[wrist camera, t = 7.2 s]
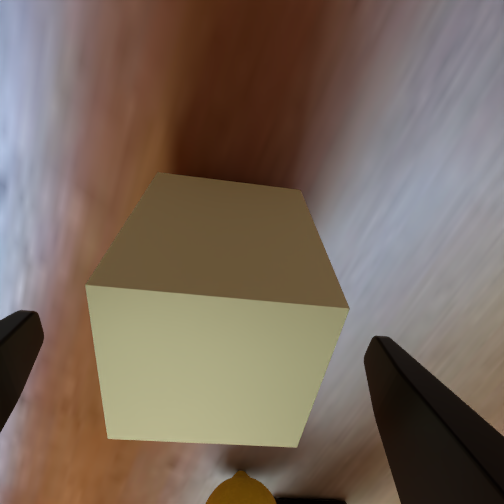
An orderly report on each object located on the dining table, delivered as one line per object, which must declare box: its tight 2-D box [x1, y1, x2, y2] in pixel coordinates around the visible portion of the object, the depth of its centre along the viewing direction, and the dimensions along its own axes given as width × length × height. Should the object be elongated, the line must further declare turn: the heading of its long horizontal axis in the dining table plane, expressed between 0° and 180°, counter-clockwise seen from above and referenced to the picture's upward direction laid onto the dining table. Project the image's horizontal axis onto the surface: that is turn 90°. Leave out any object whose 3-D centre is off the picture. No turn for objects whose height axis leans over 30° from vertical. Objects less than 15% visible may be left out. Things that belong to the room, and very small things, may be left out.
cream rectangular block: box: [85, 172, 350, 448], centre depth 11 cm, size 5×5×7 cm
